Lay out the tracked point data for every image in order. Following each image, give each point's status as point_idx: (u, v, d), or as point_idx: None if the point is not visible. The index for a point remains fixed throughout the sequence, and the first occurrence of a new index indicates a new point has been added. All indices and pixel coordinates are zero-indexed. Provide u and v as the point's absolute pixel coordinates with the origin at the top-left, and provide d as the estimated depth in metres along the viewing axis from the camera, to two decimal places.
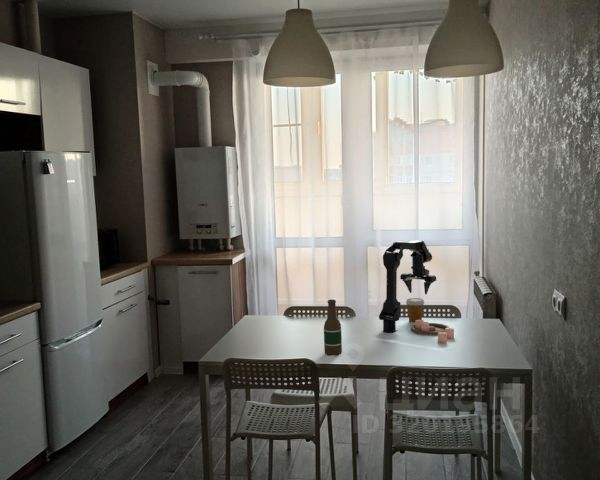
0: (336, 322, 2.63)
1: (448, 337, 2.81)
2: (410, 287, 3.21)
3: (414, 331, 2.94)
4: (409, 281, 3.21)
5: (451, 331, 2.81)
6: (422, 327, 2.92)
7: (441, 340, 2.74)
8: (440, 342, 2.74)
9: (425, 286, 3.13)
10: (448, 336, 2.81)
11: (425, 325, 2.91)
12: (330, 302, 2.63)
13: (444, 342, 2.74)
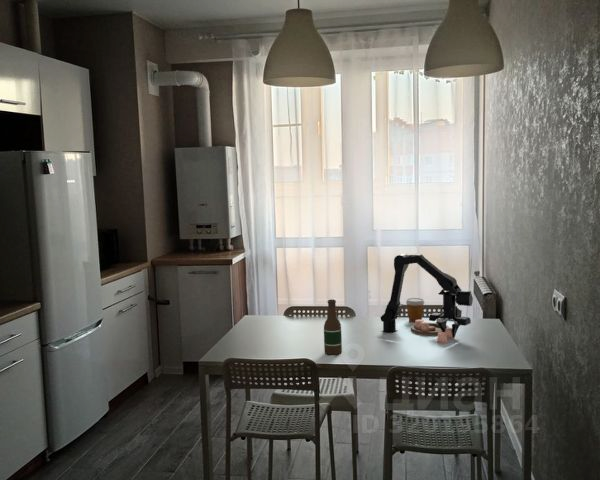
0: (336, 322, 2.63)
1: (448, 337, 2.81)
2: None
3: (414, 331, 2.94)
4: (444, 323, 2.84)
5: (451, 331, 2.81)
6: (422, 327, 2.92)
7: (441, 340, 2.74)
8: (440, 342, 2.74)
9: (453, 329, 2.79)
10: (448, 336, 2.81)
11: (425, 325, 2.91)
12: (330, 302, 2.63)
13: (444, 342, 2.74)
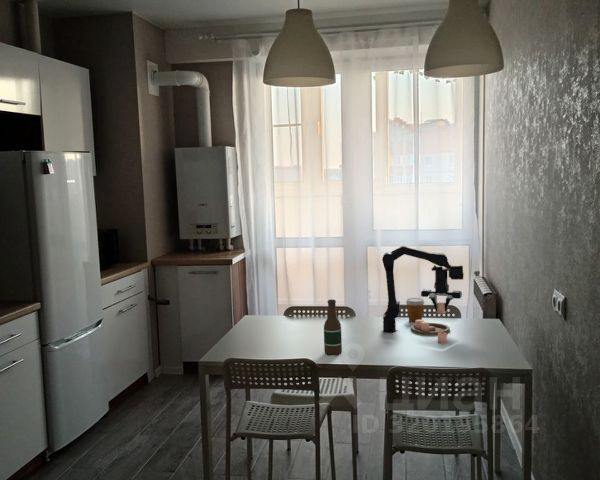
0: (336, 322, 2.63)
1: (441, 311, 2.92)
2: (436, 305, 2.94)
3: (414, 331, 2.94)
4: (435, 298, 2.94)
5: (444, 305, 2.91)
6: (422, 327, 2.92)
7: (441, 340, 2.74)
8: (440, 342, 2.74)
9: (447, 302, 2.90)
10: (441, 310, 2.91)
11: (425, 325, 2.91)
12: (330, 302, 2.63)
13: (444, 342, 2.74)
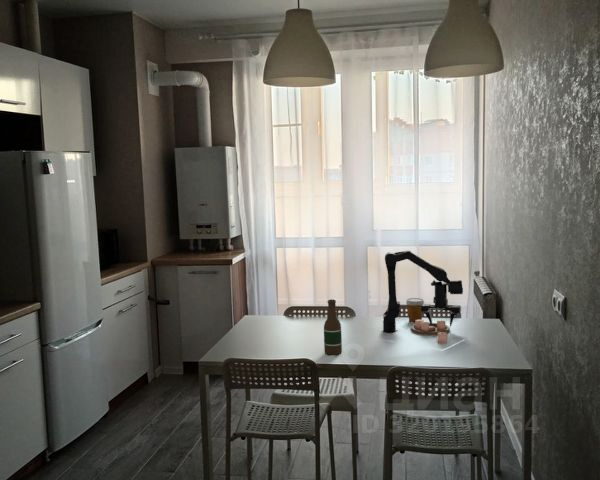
0: (336, 322, 2.63)
1: (441, 329, 2.94)
2: (431, 319, 2.97)
3: (414, 331, 2.94)
4: (430, 313, 2.96)
5: (444, 323, 2.94)
6: (422, 327, 2.92)
7: (441, 340, 2.74)
8: (440, 342, 2.74)
9: (452, 317, 2.91)
10: (441, 328, 2.93)
11: (425, 325, 2.91)
12: (330, 302, 2.63)
13: (444, 342, 2.74)
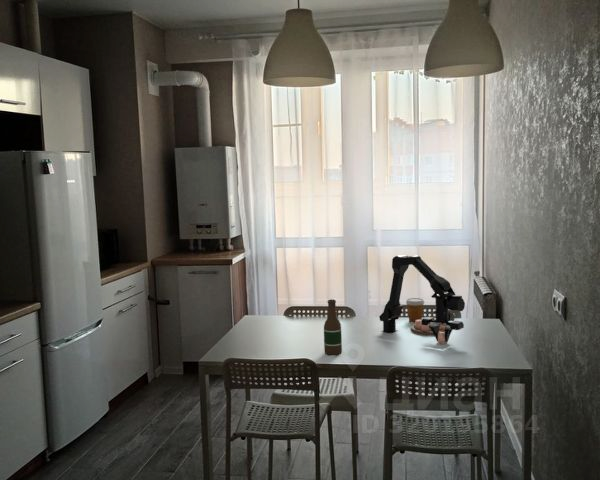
0: (336, 322, 2.63)
1: (441, 329, 2.94)
2: (437, 334, 2.77)
3: (414, 331, 2.94)
4: (436, 328, 2.76)
5: (444, 323, 2.94)
6: (422, 327, 2.92)
7: (441, 340, 2.74)
8: (440, 342, 2.74)
9: (446, 333, 2.71)
10: (441, 328, 2.93)
11: (425, 325, 2.91)
12: (330, 302, 2.63)
13: (444, 342, 2.74)
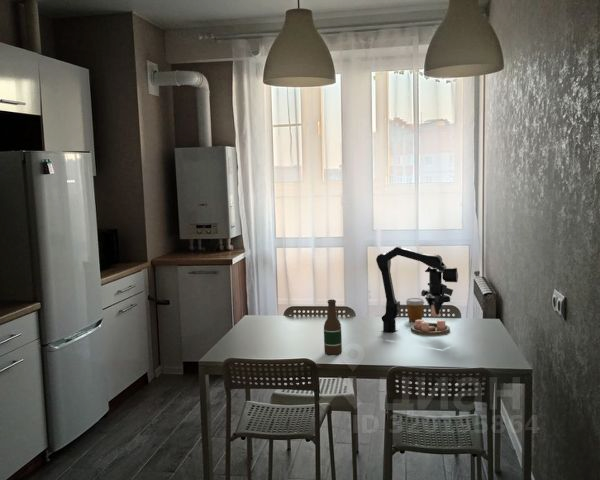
0: (336, 322, 2.63)
1: (441, 329, 2.94)
2: None
3: (414, 331, 2.94)
4: (432, 300, 2.91)
5: (444, 323, 2.94)
6: (422, 327, 2.92)
7: (432, 311, 2.88)
8: (431, 313, 2.89)
9: (434, 305, 2.85)
10: (441, 328, 2.93)
11: (425, 325, 2.91)
12: (330, 302, 2.63)
13: (435, 314, 2.88)
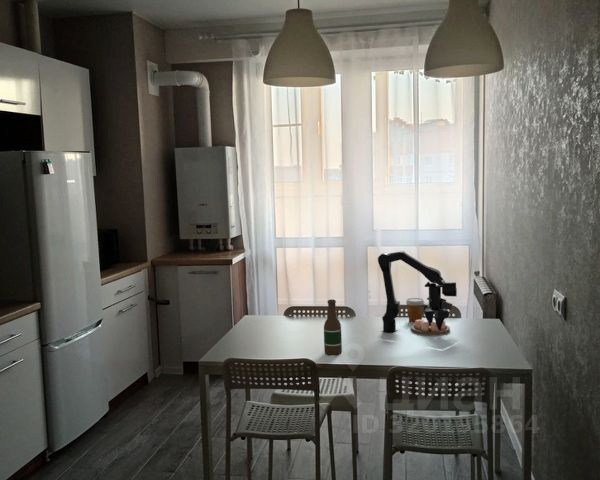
0: (336, 322, 2.63)
1: (441, 329, 2.94)
2: (430, 319, 2.96)
3: (414, 331, 2.94)
4: (429, 313, 2.96)
5: (444, 323, 2.94)
6: (422, 327, 2.92)
7: (432, 329, 2.91)
8: (431, 331, 2.92)
9: None
10: (441, 328, 2.93)
11: (425, 325, 2.91)
12: (330, 302, 2.63)
13: None
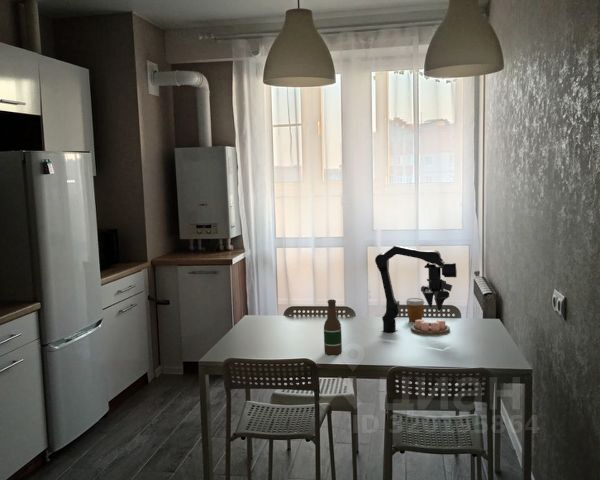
0: (336, 322, 2.63)
1: (441, 329, 2.94)
2: (430, 301, 2.95)
3: (414, 331, 2.94)
4: (429, 294, 2.95)
5: (444, 323, 2.94)
6: (422, 327, 2.92)
7: (432, 329, 2.91)
8: (431, 331, 2.92)
9: None
10: (441, 328, 2.93)
11: (425, 325, 2.91)
12: (330, 302, 2.63)
13: None
